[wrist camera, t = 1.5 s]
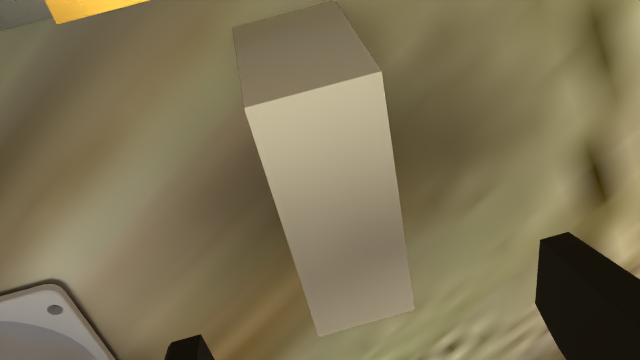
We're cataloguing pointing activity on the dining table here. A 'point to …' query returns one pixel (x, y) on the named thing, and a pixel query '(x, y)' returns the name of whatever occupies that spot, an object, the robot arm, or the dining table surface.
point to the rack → (54, 10)
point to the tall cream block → (328, 162)
